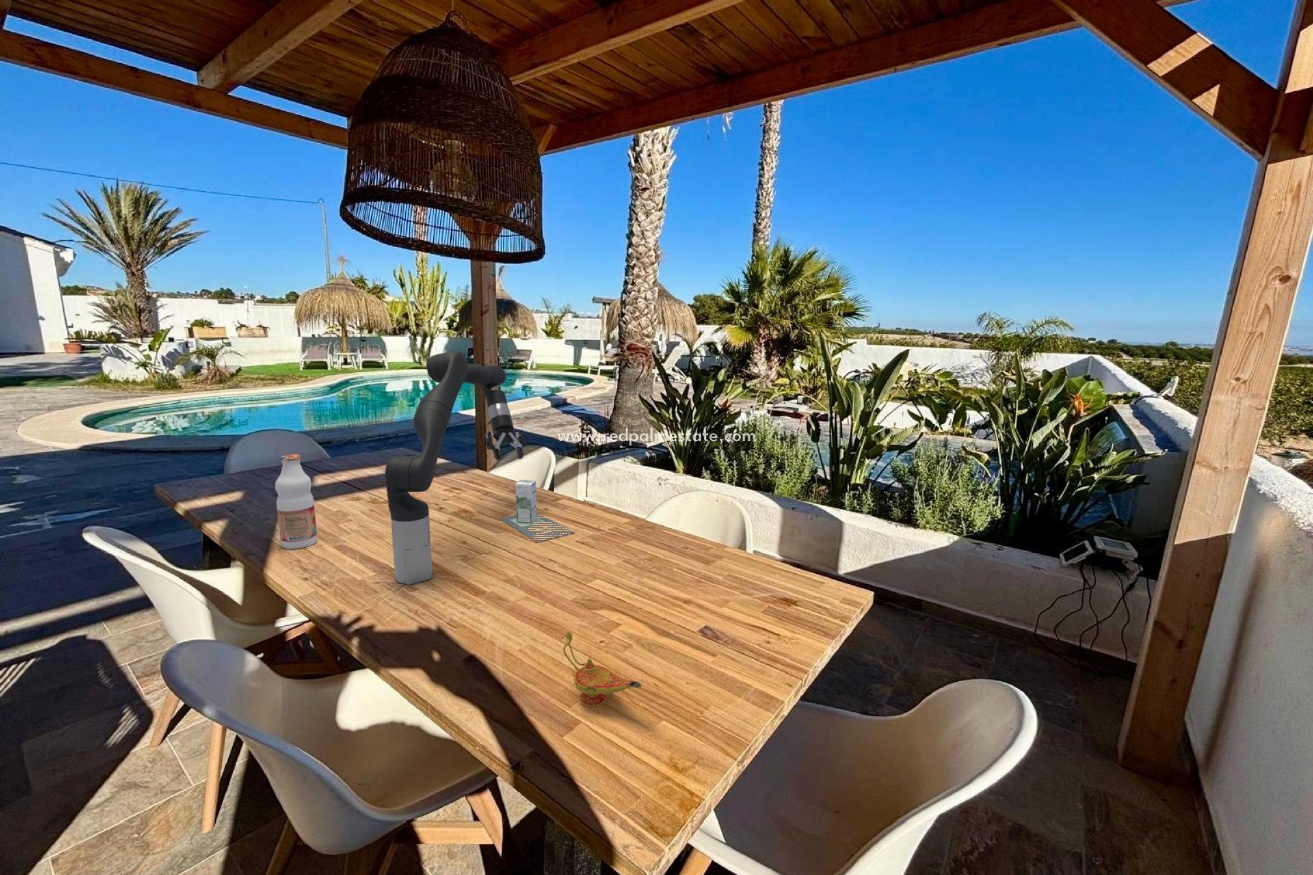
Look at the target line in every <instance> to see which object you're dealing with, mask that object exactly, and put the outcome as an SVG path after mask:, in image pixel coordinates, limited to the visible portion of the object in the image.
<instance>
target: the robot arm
mask: <svg viewBox="0 0 1313 875" xmlns="http://www.w3.org/2000/svg"><path fill="white" fill-rule="evenodd" d="M426 371H427V372H426V373H427V375H428V376H429V377H430V379H431V380H432V381H433V382H435V383H438V384H436V385H435V386H434V387H432V389H431V390H429V392H427V393H426V394H425V395H424V396H423V397H422V399H420V402H419V403H418V404H417V407H416V411H415V413H414V416H413V418H412V422H413V428H414V430H415V433H416V435H417V436H418V439H419V440H420V442H421V445H422V451H421V453H420V455H419V456H393V457H391V458H390V459H388V461H387V463H386V465H385V469H384V470H385V471H384V474H385V475H384V480H385V481H384V482H385V489H386V497H387V504H388V506H387V507H388V510H389V513H390V521H391V524H390V525H391V535H392V539H391V540H392V551H393V565H394V578H395V581H396V582H397V583H399V584H406V586H410V585H413V584H417V583H420V582H425V581H428V580H431V579H432V575H433V560H432V545H431V544H432V543H431V542H432V541H431V527H430V526H431V524H430V509H429V505H428V503H427V502H425V501H422V500H420V499H418V498H416V497H414V496H412V495H411V494H410V493H423V492H426V491H428V490H429V489H430V488H431V485H432V483H433V480H434V477H435V472H436V467H437V463H438V459H439V454H440V449H441V446H442V443H443V440H444V437H445V434H446V431H447V428H448V425H449V422H450V419H451V416H452V413H453V409H454V406H455V403H456V402H457V401H456V400H457V398H458V395H459V393H460V391H461V389H462V386H463V384H464V383H466V384H472V385H475V386H476V385H477V386H479V388H480V390H481V392H482V394H483V395H484V397H485V401H486V405H487V409H488V410H487V411H488V417H489V420H490V425H491V426H490V427H491V430H492V432H491V431H487V433H485V435H484V437H485V443H486V449H487V450H491V451H492V452H493V457H494V459H495V460H496V461H497V462H498V461H500V460H502V455H501V452H500V449H499V447H500V445H503V446H504V445H511V446H512V447H514V448H515V449H516V453H517V454H516V455H517V459H518V460H522V459H523V458H524V451H523V449H524V448H525V447H527V441H526V439H525V435H524V431H522V430H520V431H515V429H514V427H515V426H514V423H513V418H512V415H511V410H510V408H509V404H508V401H507V396H506V393H505V391H503V390H502V389H494V388H496V387H498V386H501V385H503V384H504V383H505V381H506V379H507V374H506V372H505V370H504V369H503V368H502V367H500V366H498V365H481V364H476V363H468V359H467V357H466V356H465V354H464V353H463V352H461V351H457V350H455V351H447V352H443V353H442V352H441V353H437V354H434V355H431V356H430V357H429V358H428V359H427V361H426ZM493 389H494V390H493ZM493 438H494V440H496V441H495V442H494V443H493Z"/></svg>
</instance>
